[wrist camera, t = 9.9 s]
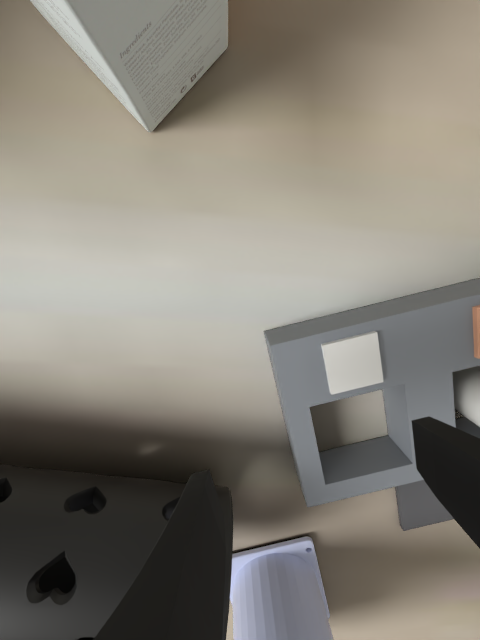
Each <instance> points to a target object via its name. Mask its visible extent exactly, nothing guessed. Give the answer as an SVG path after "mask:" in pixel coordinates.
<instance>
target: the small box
mask: <svg viewBox="0 0 480 640" xmlns="http://www.w3.org/2000/svg"><path fill="white" fill-rule="evenodd" d="M30 1H31V2H32V4H33V5H34V6H35V7H36V9H37V10H38V11H39V12H40V13H41V14H42V16H43V17H44V18H45V19H46V20H47V21H48V22H49V24H50V25H51V26H52V27H53V28H54V29H55V30H56V31H57V32H58V34H59V35H60V36H61V37H62V38H63V39H64V40H65V41H66V43H67V44H68V45H69V46H70V47H71V48H72V49H73V50H74V51H75V53H76V54H77V55H78V56H79V57H80V58H81V59H82V60H83V61H84V62H85V64H86V65H87V66H88V67H89V68H90V69H91V70H92V71H93V72H94V73H95V75H96V76H97V77H98V78H99V79H100V80H101V81H102V82H103V83H104V84H105V86H106V87H107V88H108V89H109V90H110V91H111V92H112V93H113V94H114V96H115V97H116V98H117V99H118V100H119V101H120V102H121V103H122V104H123V105H124V106H125V108H126V109H127V110H128V111H129V112H130V113H131V114H132V115H133V116H134V117H135V118H136V119H137V121H138V122H139V123H140V124H141V125H142V126H143V127H144V128H145V129H146V130H147V131H148V132H152V131H153V130H154V129H155V128H156V127H157V125H158V124H159V123H160V122H161V121H162V120H163V119H164V118H165V117H166V116H167V114H168V113H169V112H170V111H171V110H172V109H173V108H174V107H175V106H176V104H177V103H178V102H179V101H180V100H181V99H182V98H183V97H184V96H185V94H186V93H187V92H188V91H189V90H190V89H191V88H192V87H193V86H194V84H195V83H196V82H197V81H198V80H199V79H200V78H201V77H202V76H203V74H204V73H205V72H206V71H207V70H208V69H209V67H210V66H211V65H212V64H213V63H214V62H215V61H216V60H217V59H218V58H219V57H220V55H221V54H222V53H223V52H224V51H225V50H226V49H227V47H228V0H30Z"/></svg>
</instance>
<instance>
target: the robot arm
mask: <svg viewBox="0 0 480 640" xmlns="http://www.w3.org/2000/svg"><path fill="white" fill-rule="evenodd" d="M412 430H413V439H414V449H415V458H416V468H417V470H418V472H419V473H420V475H421V476H422V478H423V479H424V481H425V482H426V484H427V485H428V486H429V488H430V489H431V491H432V492H433V494H434V495H435V496H436V498H437V499H438V500H439V501H440V503H441V504H442V505H443V506H444V507H445V509H446V510H447V511H448V512H449V513H450V514H451V516H452V517H453V518H454V519H455V520H456V522H457V523H458V524H459V525H460V526H461V527H462V528H463V530H464V531H465V532H466V533H467V534H468V535H469V537H470V538H471V539H472V540H473V541H474V542H475V543H476V545H477V546H478V547H479V548H480V438H477V437H475V436H473V435H471V434H469V433H466V432H464V431H462V430H460V429H457V428H455V427H453V426H451V425H448V424H446V423H444V422H442V421H439V420H437V419H434V418H432V417H429V416H428V417H424V418H420V419H416V420H412ZM225 560H226V542H225V524H224V514H223V511H222V508H221V505H220V501H219V498H218V495H217V492H216V489H215V486H214V483H213V480H212V477H211V474H210V470H205V471H201V472H197V473H193V474H192V475H191V476H190V478H189V480H188V482H187V484H186V487H185V489H184V491H183V493H182V495H181V497H180V499H179V501H178V503H177V505H176V507H175V509H174V511H173V513H172V515H171V517H170V519H169V521H168V523H167V524H166V526H165V528H164V530H163V532H162V534H161V536H160V538H159V539H158V541H157V543H156V545H155V546H154V548H153V550H152V552H151V553H150V555H149V557H148V558H147V560H146V562H145V564H144V565H143V567H142V569H141V570H140V572H139V573H138V575H137V577H136V578H135V580H134V581H133V583H132V585H131V586H130V588H129V589H128V591H127V592H126V594H125V595H124V597H123V598H122V600H121V601H120V603H119V604H118V606H117V607H116V609H115V610H114V612H113V613H112V614H111V616H110V617H109V619H108V620H107V621H106V623H105V624H104V626H103V627H102V628H101V630H100V631H99V632H98V634H97V635H96V636H95V638H94V639H93V640H222V631H223V608H224V585H225ZM230 600H231V603H232V606H233V640H334V639H333V635H332V632H331V628H330V624H329V621H328V619H329V617H330V613H329V609H328V604H327V600H326V596H325V591H324V587H323V583H322V578H321V574H320V570H319V565H318V561H317V557H316V553H315V548H314V544H313V540H312V538H310V537H308V536H306V537H302V538H297V539H293V540H289V541H285V542H281V543H276V544H272V545H268V546H264V547H260V548H255V549H251V550H247V551H243V552H239V553H234V554H232V572H231V588H230Z"/></svg>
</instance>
